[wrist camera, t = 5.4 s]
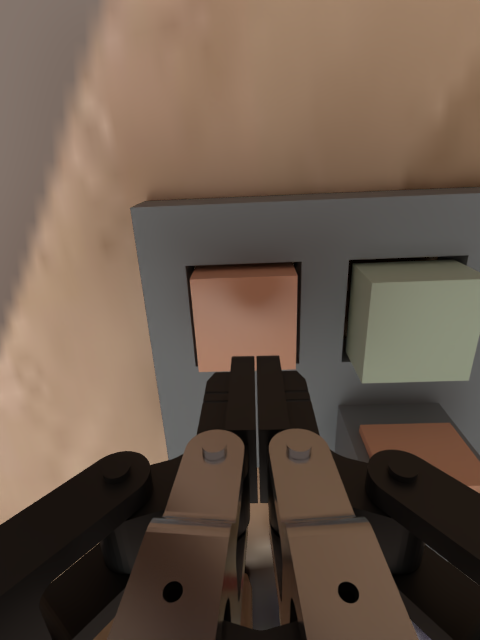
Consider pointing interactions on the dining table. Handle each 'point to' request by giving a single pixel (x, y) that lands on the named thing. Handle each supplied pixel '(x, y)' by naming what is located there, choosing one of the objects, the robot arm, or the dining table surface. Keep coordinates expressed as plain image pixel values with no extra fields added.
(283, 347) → the terracotta button
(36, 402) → the dining table surface
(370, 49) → the dining table surface
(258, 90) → the dining table surface
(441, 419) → the console
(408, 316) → the sage button
